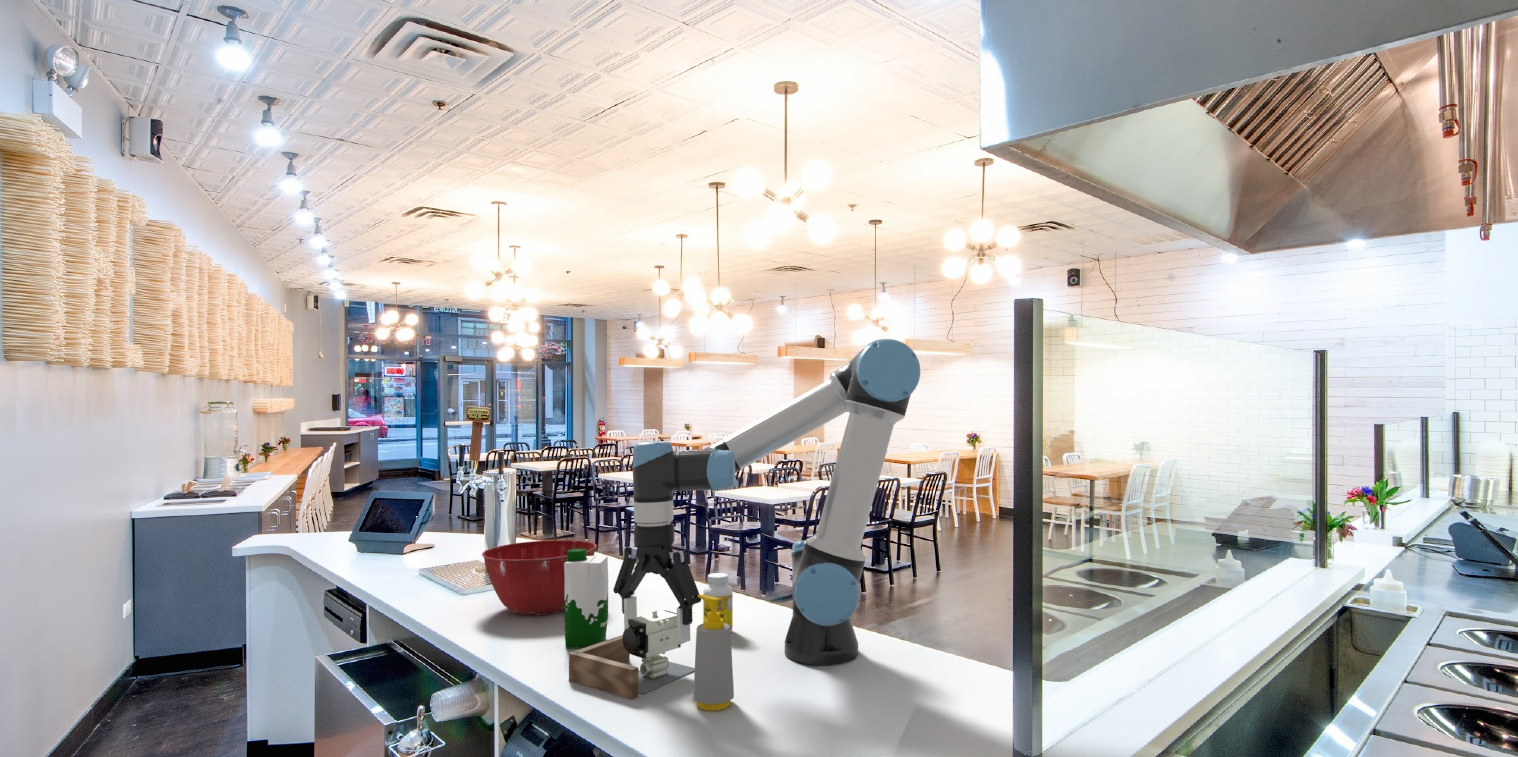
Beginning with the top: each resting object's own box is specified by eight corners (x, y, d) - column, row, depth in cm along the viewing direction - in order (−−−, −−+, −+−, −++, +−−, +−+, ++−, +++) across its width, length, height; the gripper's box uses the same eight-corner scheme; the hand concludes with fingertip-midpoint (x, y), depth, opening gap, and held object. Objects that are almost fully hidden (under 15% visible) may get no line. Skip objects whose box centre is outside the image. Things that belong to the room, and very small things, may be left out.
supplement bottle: (698, 634, 162) (697, 576, 163) (711, 626, 168) (710, 570, 169) (725, 637, 160) (724, 579, 160) (737, 629, 166) (737, 572, 167)
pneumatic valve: (621, 680, 133) (621, 614, 134) (670, 664, 142) (670, 602, 143) (639, 688, 130) (639, 620, 130) (689, 671, 138) (689, 607, 139)
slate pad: (697, 669, 140) (697, 668, 140) (643, 694, 127) (643, 693, 127) (663, 660, 145) (663, 659, 145) (607, 683, 132) (607, 682, 132)
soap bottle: (712, 693, 128) (712, 590, 129) (742, 702, 123) (741, 596, 124) (684, 705, 122) (684, 597, 123) (714, 715, 118) (714, 604, 119)
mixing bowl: (455, 619, 176) (456, 555, 177) (525, 592, 204) (526, 536, 204) (557, 628, 168) (557, 561, 169) (616, 598, 195) (616, 541, 196)
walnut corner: (685, 675, 137) (685, 648, 137) (631, 699, 125) (631, 669, 125) (623, 659, 146) (623, 634, 146) (568, 680, 134) (568, 652, 135)
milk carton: (570, 636, 161) (571, 546, 162) (611, 636, 161) (611, 545, 162) (559, 649, 152) (560, 553, 154) (602, 649, 153) (603, 553, 154)
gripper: (717, 524, 134) (721, 640, 132) (621, 517, 148) (624, 622, 147) (691, 529, 127) (694, 652, 126) (593, 522, 142) (596, 632, 140)
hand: (656, 636), depth 136 cm, fingers open, 13 cm apart
